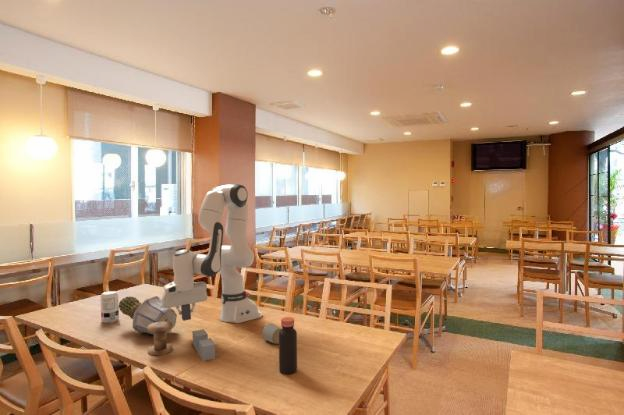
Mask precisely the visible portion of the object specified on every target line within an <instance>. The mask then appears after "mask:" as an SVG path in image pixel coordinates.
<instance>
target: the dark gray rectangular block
mask: <svg viewBox="0 0 624 415" xmlns="http://www.w3.org/2000/svg"><path fill="white" fill-rule="evenodd" d="M190 308H191V304H186V305H181V306H180V310H182V313H183V314H182V315H181V319H182V321H183V322H185V321H189V320H190V321H191V320H192V313H191V311H190Z"/></svg>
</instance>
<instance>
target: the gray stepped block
mask: <svg viewBox="0 0 624 415" xmlns="http://www.w3.org/2000/svg"><path fill="white" fill-rule="evenodd" d="M192 346H193V348H195V350H196V352H197V354H198V356H199V357H200V359H201V360H202V362H206V361H210V360H215V359H216V344H215V342H214V341H213V339H212V338H211V337H210V338H209V334H208V333H207V331H206V330H205V329H204V328H203V329H198V330H193V331H192Z"/></svg>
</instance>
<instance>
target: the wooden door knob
mask: <svg viewBox="0 0 624 415" xmlns="http://www.w3.org/2000/svg"><path fill="white" fill-rule="evenodd" d="M170 328H172V323H171V322H167V321H161V322H155V323H152V324H150V325H148V326H147V330H148V331H150V332H154V335H153V345H152V346H150V347H148V349H147V354H148V355H149V356H163V355H166V354H169V353H171V352H172V351H173V350H174V349H173V348H174V346H173V344H171V343H167V335H166V330H169V329H170ZM172 329H173V328H172Z"/></svg>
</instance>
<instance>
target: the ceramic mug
mask: <svg viewBox="0 0 624 415" xmlns="http://www.w3.org/2000/svg"><path fill="white" fill-rule="evenodd" d="M281 329H282V327H280V326H279V325H276V324H274V323H272V322H270V323H269V322H268V323H267V324H266V325H265V326H264V327H263V329H262V334H261V335H262V338H263V339H264V340H266V341H268V342H269V343H272V344H275V345H279V332H280V330H281Z"/></svg>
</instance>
